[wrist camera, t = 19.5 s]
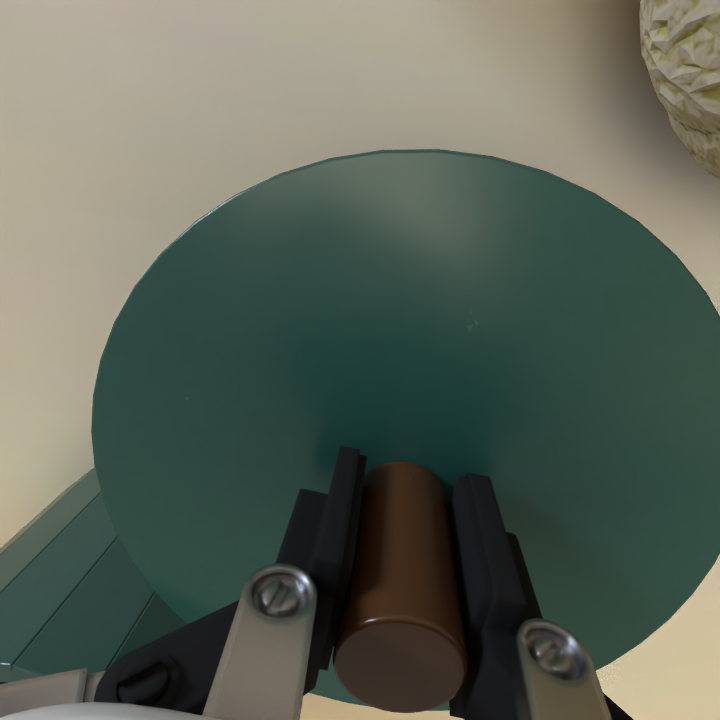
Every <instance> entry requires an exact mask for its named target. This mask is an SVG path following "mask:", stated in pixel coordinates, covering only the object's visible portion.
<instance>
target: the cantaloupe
mask: <svg viewBox="0 0 720 720" xmlns="http://www.w3.org/2000/svg"><path fill="white" fill-rule="evenodd" d="M639 15H640V40H641V55H642V57H643V59H644V62H645V64H646V66H647V68H648V72H649V76H650V79H651V82H652V85H653V87H654V90H655V92H656V95H657V97H658V99H659V100H660V101H661V103H662V104H663V105H664V106H665V108H666V110H667V113H668V117H669V123H670V125H671V126H672V128H673V130H674V132H675V133H676V135H677V136H678V137H679V139H680V140H681V141H682V142H683V144H684V145H685V146H686V148H687V149H688V151H689V152H690V154H691V155H692V157H693V158H694V160H696V161H697V162H698V163H699V164H700V165H701V166H703V167H704V168H705V169H706V170H707V172H708V173H709V174H711V175H712V176H714V177H716V178H717V179H719V180H720V0H640V10H639Z"/></svg>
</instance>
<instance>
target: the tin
mask: <svg viewBox="0 0 720 720" xmlns="http://www.w3.org/2000/svg"><path fill="white" fill-rule="evenodd" d="M185 625H187V623H185V622H184V621H183V620H182V619H181V618H180V617H179V616H178V615H176V614H175V613H174V612H173V611H172V610H171V609H170V608H169V607H168V605H167V604H166V603H165V602H164V601H163V600H162V599H161V598H160V597H159V595H158V594H157V593H156V592H155V591H154V590H153V589H152V588H151V587H150V585H149V584H148V583H147V581H146V580H145V578H144V577H143V576H142V574H141V573H140V571H139V570H138V569H137V567H136V566H135V564H134V563H133V562H132V560H131V559H130V557H129V555H128V553H127V551H126V549H125V548H124V546H123V544H122V542H121V540H120V538H119V537H118V535H117V533H116V531H115V529H114V526H113V524H112V521H111V519H110V516H109V514H108V511H107V509H106V506H105V503H104V501H103V498H102V494H101V490H100V486H99V481H98V477H97V473H96V469H95V468H94V469H92V470H91V471H89V472H88V473H87V474H85V475H84V476H83V477H82V478H80V479H79V480H78V481H77V482H75V483H74V484H73V485H71V486H70V487H69V488H67V489H66V490H65V491H64V492H63V493H62V494H61V495H59V496H58V497H57V498H56V499H55V500H54V501H53V502H52V503H51V504H49V505H48V506H47V507H46V508H45V509H44V510H43V511H42V512H40V513H39V514H38V515H37V516H36V517H35V518H34V519H33V520H32V521H30V522H29V523H28V524H27V525H26V526H25V527H24V528H23V529H22V530H20V531H19V532H18V533H17V534H16V535H15V536H14V537H13V538H12V539H10V540H9V541H8V542H7V543H6V544H5V545H4V546H3V547H1V548H0V684H4V683H9V682H15V681H20V680H25V679H30V678H35V677H41V676H46V675H51V674H56V673H62V672H67V671H72V670H77V669H82V668H88V674H90V673H95V672H100V671H106V670H107V669H108V668H109V667H110V666H111V665H112V664H113V663H114V662H115V661H116V660H118V659H119V658H121V657H123V656H124V655H126V654H127V653H129V652H131V651H133V650H135V649H137V648H139V647H141V646H143V645H145V644H148V643H150V642H152V641H154V640H156V639H158V638H160V637H162V636H164V635H166V634H169V633H171V632H173V631H175V630H177V629H179V628H181V627H183V626H185Z"/></svg>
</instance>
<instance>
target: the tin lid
mask: <svg viewBox="0 0 720 720" xmlns="http://www.w3.org/2000/svg"><path fill="white" fill-rule="evenodd" d="M91 433H92V443H93V453H94V464H95V469H96V473H97V477H98V481H99V486H100V490H101V494H102V498H103V501H104V503H105V506H106V509H107V511H108V514H109V516H110V519H111V521H112V524H113V526H114V529H115V531H116V533H117V535H118V537H119V538H120V540H121V542H122V544H123V546H124V548H125V549H126V551H127V553H128V555H129V557H130V559H131V560H132V562H133V563H134V564H135V566H136V567H137V569H138V570H139V571H140V573H141V574H142V576H143V577H144V578H145V580H146V581H147V583H148V584H149V585H150V587H151V588H152V589H153V590H154V591H155V592H156V593H157V594H158V595H159V597H160V598H161V599H162V600H163V601H164V602H165V603H166V604H167V605H168V607H169V608H170V609H171V610H172V611H173V612H174V613H175V614H176V615H178V616H179V617H180V618H181V619H182V620H183V621H184V622H185V623H187V624H189V623H192V622H194V621H196V620H198V619H200V618H202V617H204V616H206V615H208V614H210V613H213V612H215V611H217V610H219V609H221V608H223V607H225V606H227V605H229V604H231V603H233V602H236V601H238V600H240V598H241V594H242V591H243V588H244V586H245V584H246V582H247V580H248V578H249V577H250V576H251V575H252V574H253V573H254V572H255V571H256V570H258V569H260V568H262V567H264V566H266V565H271V564H275V563H276V560H277V557H278V554H279V551H280V548H281V545H282V542H283V539H284V536H285V533H286V530H287V527H288V524H289V521H290V518H291V515H292V512H293V509H294V506H295V502H296V499H297V496H298V493H299V491H300V489H301V488H302V489H307V490H311V491H316V492H321V493H326V494H329V491H330V486H331V482H332V478H333V473H334V469H335V465H336V461H337V456H338V452H339V448H340V445H343V446H347V447H352V448H357V449H360V453H359V455H363V456H367V460H366V468H365V476H364V483H363V491H362V499H361V507H360V514H359V522H358V530H357V538H356V545H355V553H354V560H353V566H352V571H351V576H350V580H349V584H348V588H347V592H346V597H345V601H344V605H343V609H342V613H341V617H340V618H339V621H338V624H337V628H336V635H335V642H334V646H333V650H332V655H331V659H330V663H329V667H328V671H325V670H320V669H319V674H318V678H317V682H316V687H315V688H314V689H312V690H311V691H309V693H312V694H316V695H320V696H323V697H327V698H331V699H335V700H339V701H342V702H347V703H353V704H359V705H364V706H370V707H375V708H378V709H381V710H385V711H391V712H399V713H413V712H421V711H446V710H450V709H449V700H451V699H452V698H453V697H455V696H456V695H457V694H458V692H459V691H460V690H461V688H462V687H463V685H464V683H465V680H466V677H467V674H468V656H467V649H466V642H465V634H464V627H463V619H462V612H461V604H460V597H459V590H458V582H457V575H456V567H455V560H454V552H453V545H452V537H451V530H450V523H449V515H448V506H449V503H450V500H451V497H452V494H453V491H454V488H455V484H456V481H457V479H458V477H459V476H463V477H465V475H466V474H467V473H468V472H470V473H475V474H480V475H485V476H489V477H490V479H491V482H492V485H493V489H494V492H495V496H496V499H497V503H498V506H499V510H500V513H501V517H502V520H503V524H504V527H505V531H506V532H509V533H513V534H515V535H516V537H517V539H518V541H519V544H520V548H521V551H522V554H523V557H524V560H525V563H526V567H527V570H528V573H529V576H530V579H531V583H532V586H533V589H534V592H535V595H536V598H537V602H538V605H539V608H540V611H541V614H542V617H543V619H547V620H549V621H552V622H555V623H557V624H559V625H560V626H562V627H564V628H565V629H567V630H568V631H570V632H571V633H572V634H573V635H574V636H575V637H576V638H577V639H578V640H579V641H580V642H581V643H582V645H583V646H584V647H585V648H586V650H587V652H588V654H589V656H590V658H591V660H592V663H593V666H594V668H595V671H596V670H598V669H600V668H602V667H604V666H606V665H608V664H610V663H611V662H613V661H614V660H616V659H617V658H619V657H620V656H622V655H624V654H625V653H627V652H628V651H630V650H631V649H633V648H634V647H636V646H637V645H639V644H640V643H642V642H643V641H644V640H645V639H646V638H648V637H649V636H650V635H651V634H652V633H653V632H655V631H656V630H657V629H658V628H659V627H661V626H662V625H663V624H664V623H665V622H667V621H668V620H669V619H670V618H671V617H672V616H673V615H674V613H675V612H676V611H677V610H678V609H679V608H680V607H681V606H682V605H683V604H684V603H685V602H686V601H687V600H688V598H689V597H690V596H691V595H692V594H693V593H694V592H695V590H696V589H697V587H698V586H699V585H700V583H701V582H702V580H703V579H704V578H705V576H706V575H707V573H708V572H709V571H710V569H711V568H712V566H713V565H714V563H715V562H716V560H717V558H718V556H719V554H720V316H719V314H718V312H717V311H716V309H715V307H714V305H713V304H712V302H711V300H710V298H709V296H708V295H707V293H706V291H705V290H704V289H703V288H702V287H701V285H700V284H699V283H698V282H697V280H696V279H695V278H694V277H693V275H692V274H691V273H690V272H689V270H688V269H687V268H686V267H685V265H684V264H683V263H682V262H681V260H680V259H679V258H678V257H677V255H676V254H674V253H673V252H672V251H671V250H670V249H669V248H668V247H667V246H665V245H664V244H663V243H662V242H661V241H660V240H659V239H658V238H657V237H655V236H654V235H653V234H652V233H651V232H650V231H649V230H648V229H647V228H645V227H644V226H643V225H642V224H641V223H640V222H639V221H637V220H636V219H634V218H632V217H631V216H629V215H628V214H626V213H625V212H623V211H622V210H620V209H618V208H617V207H615V206H614V205H612V204H611V203H609V202H608V201H606V200H605V199H603V198H601V197H600V196H598V195H597V194H595V193H593V192H591V191H589V190H586V189H584V188H582V187H580V186H578V185H575V184H573V183H571V182H569V181H566V180H564V179H562V178H560V177H557V176H555V175H553V174H551V173H549V172H546V171H543V170H539V169H536V168H532V167H529V166H525V165H522V164H518V163H515V162H511V161H507V160H504V159H500V158H497V157H493V156H486V155H478V154H471V153H463V152H455V151H448V150H440V149H420V150H380V151H373V152H367V153H361V154H354V155H348V156H341V157H335V158H329V159H326V160H323V161H320V162H316V163H313V164H310V165H307V166H303V167H300V168H297V169H294V170H290V171H287V172H284V173H281V174H278V175H276V176H274V177H272V178H270V179H268V180H266V181H263V182H261V183H259V184H257V185H255V186H253V187H251V188H249V189H247V190H245V191H242V192H240V193H238V194H236V195H234V196H233V197H231V198H230V199H228V200H227V201H225V202H224V203H222V204H221V205H219V206H218V207H216V208H215V209H213V210H212V211H210V212H209V213H207V214H206V215H204V216H203V217H202V218H200V219H199V220H197V221H196V222H194V223H193V224H192V225H191V226H190V227H189V228H188V229H187V230H186V231H185V232H183V233H182V234H181V235H180V236H179V237H178V238H177V239H176V240H175V241H174V242H173V243H171V244H170V245H169V246H168V247H167V248H166V249H165V250H164V251H163V252H162V253H161V254H160V255H159V256H158V258H157V259H156V260H155V261H154V263H153V264H152V265H151V266H150V268H149V269H148V270H147V272H146V273H145V274H144V275H143V277H142V278H141V279H140V280H139V282H138V283H137V284H136V285H135V287H134V288H133V290H132V292H131V294H130V296H129V297H128V299H127V301H126V303H125V304H124V306H123V308H122V310H121V311H120V313H119V315H118V317H117V318H116V320H115V322H114V325H113V327H112V330H111V333H110V335H109V338H108V341H107V343H106V346H105V349H104V351H103V354H102V357H101V360H100V365H99V369H98V374H97V379H96V384H95V389H94V394H93V408H92V428H91Z"/></svg>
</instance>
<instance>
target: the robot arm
mask: <svg viewBox="0 0 720 720" xmlns="http://www.w3.org/2000/svg"><path fill="white" fill-rule="evenodd" d="M359 453H360V449H357V448H352V447H347V446H343V445H340V448H339V452H338V456H337V461H336V465H335V469H334V473H333V478H332V482H331V486H330V491H329V494H326V493H321V492H316V491H311V490H307V489H302V488H301V489H300V491H299V493H298V496H297V499H296V502H295V506H294V509H293V512H292V515H291V518H290V521H289V524H288V527H287V530H286V533H285V536H284V539H283V542H282V545H281V548H280V551H279V554H278V557H277V560H276V563H275V564H271V565H266V566H264V567H262V568H260V569H258V570H256V571H255V572H254V573H253V574H252V575H251V576H250V577H249V578H248V580H247V582H246V584H245V586H244V588H243V591H242V594H241V598H240V600H238V601H236V602H233V603H231V604H229V605H227V606H225V607H223V608H221V609H219V610H217V611H215V612H213V613H210V614H208V615H206V616H204V617H202V618H200V619H198V620H196V621H194V622H192V623H189V624H187V625H185V626H183V627H181V628H179V629H177V630H175V631H173V632H171V633H169V634H166V635H164V636H162V637H160V638H158V639H156V640H154V641H152V642H150V643H148V644H145V645H143V646H141V647H139V648H137V649H135V650H133V651H131V652H129V653H127V654H126V655H124V656H123V657H121V658H119V659H118V660H116V661H115V662H114V663H113V664H112V665H111V666H110V667H109V668H108V669H107V670H106V671H100V672H95V673H90V674H88V668H82V669H77V670H72V671H67V672H62V673H56V674H51V675H46V676H41V677H35V678H30V679H25V680H20V681H15V682H9V683H4V684H0V720H300V713H301V706H302V699H303V696H304V695H305V694H307V693H308V692H309V691H311V690H312V689H314V688H315V687H316V682H317V678H318V674H319V669H320V670H325V671H328V667H329V663H330V659H331V655H332V650H333V646H334V642H335V635H336V628H337V624H338V621H339V618H340V617H341V613H342V609H343V605H344V601H345V597H346V592H347V588H348V584H349V580H350V576H351V571H352V566H353V560H354V553H355V545H356V538H357V530H358V522H359V514H360V507H361V499H362V491H363V483H364V476H365V468H366V460H367V456H363V455H359ZM448 515H449V523H450V530H451V537H452V545H453V552H454V560H455V567H456V575H457V582H458V590H459V597H460V604H461V612H462V619H463V627H464V634H465V642H466V649H467V656H468V674H467V677H466V680H465V683H464V685H463V687H462V688H461V690H460V691H459V692H458V694H457V695H456V696H455V697H453V698H452V699H451V700H449V709H450V716H454V717H459V718H463V719H464V720H633V719H632V718H631V717H630V716H629V715H628V714H627V713H625V712H624V711H623V710H622V709H621V708H620V707H619V706H618V705H616V704H615V703H614V702H613V701H612V700H611V699H610V698H609V697H607V696H606V695H605V694H604V693H603V692H602V689H601V686H600V683H599V680H598V677H597V674H596V671H595V668H594V666H593V663H592V660H591V658H590V656H589V654H588V652H587V650H586V648H585V647H584V646H583V645H582V643H581V642H580V641H579V640H578V639H577V638H576V637H575V636H574V635H573V634H572V633H571V632H570V631H568V630H567V629H565V628H564V627H562V626H560V625H559V624H557V623H555V622H552V621H549V620H547V619H543V617H542V614H541V611H540V608H539V605H538V602H537V598H536V595H535V592H534V589H533V586H532V583H531V579H530V576H529V573H528V570H527V567H526V563H525V560H524V557H523V554H522V551H521V548H520V544H519V541H518V539H517V537H516V535H515V534H513V533H509V532H506V531H505V527H504V524H503V520H502V517H501V513H500V510H499V506H498V503H497V499H496V496H495V492H494V489H493V485H492V482H491V479H490V477H489V476H485V475H480V474H475V473H470V472H468V473H467V474H466V475H465V477H463V476H459V477H458V479H457V481H456V484H455V488H454V491H453V494H452V497H451V500H450V503H449V506H448Z"/></svg>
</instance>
